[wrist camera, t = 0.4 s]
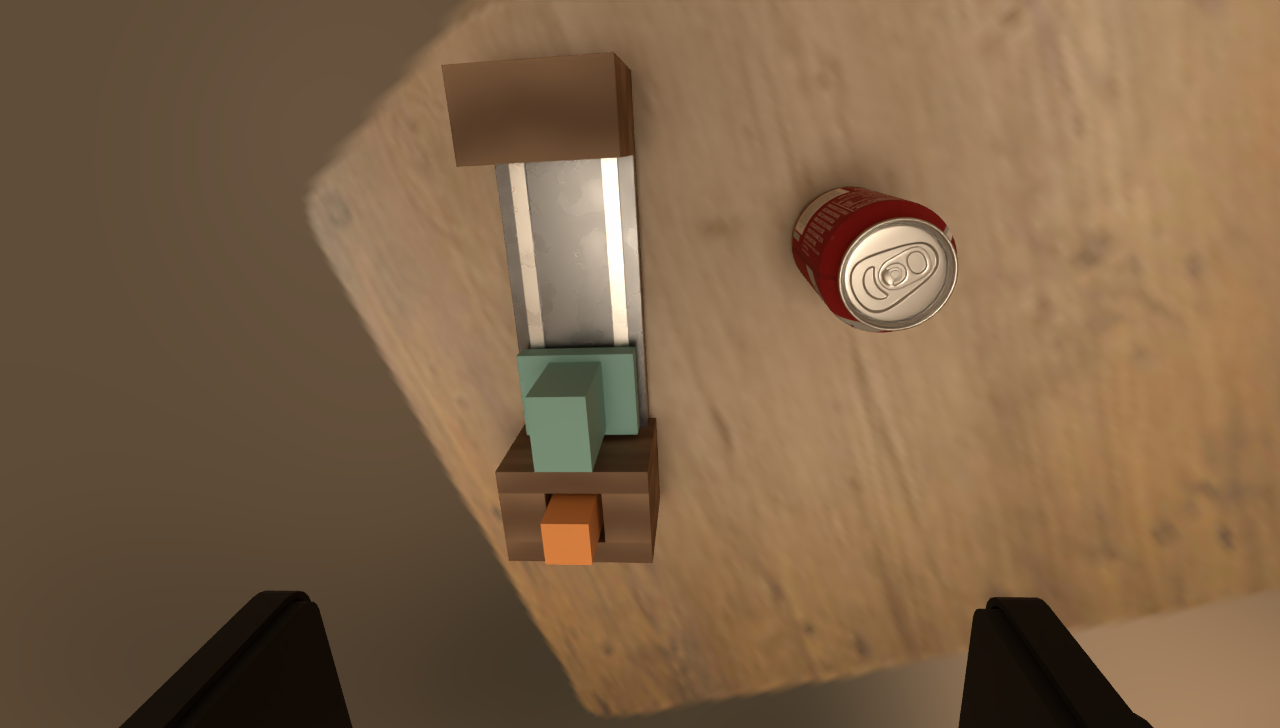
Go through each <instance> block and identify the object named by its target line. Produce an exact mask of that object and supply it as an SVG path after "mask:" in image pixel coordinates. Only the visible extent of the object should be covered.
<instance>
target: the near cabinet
mask: <svg viewBox="0 0 1280 728" xmlns="http://www.w3.org/2000/svg"><path fill="white" fill-rule="evenodd" d="M442 72H443V79H444V85H445V92H446V98H447V105H448V112H449V118H450V125H451V132H452V138H453V145H454V152H455V158H456V165H457V167H459V166H477V165H495V164H513V163H531V162H549V161H567V160H585V159H603V158H620V157H626V156H631V155H633V148H632V130H631V121H632V122H633V103H632V85H631V70H630V69H629V68H628V67H627V66H626V65H625V64H624V63H623V62H622V60H621V59H620V58H619V57H618V56H617V55H616V54H615V53H614V52H610V53H597V54H583V55H570V56H556V57H543V58H529V59H516V60H503V61H489V62H476V63H462V64H449V65H442Z"/></svg>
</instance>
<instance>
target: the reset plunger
mask: <svg viewBox="0 0 1280 728" xmlns="http://www.w3.org/2000/svg"><path fill="white" fill-rule="evenodd" d="M603 521H604V519H603V507H602V496H601V494H553V495H552V497H551V500H550V502H549V504H548V507H547V509H546V512H545V514H544V516H543V519H542V521H541V524H540V525H541V533H542V540H543V548H544V556H545V563H546V564H568V565H592V564H593V560H594V556H595V552H596V548H597V545H598V541H599V537H600V533H601V529H602V525H603Z"/></svg>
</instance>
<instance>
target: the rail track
mask: <svg viewBox="0 0 1280 728" xmlns="http://www.w3.org/2000/svg"><path fill="white" fill-rule="evenodd" d="M631 130H632V148H633V155H631V156H626V157H620V158H603V159H585V160H567V161H549V162H531V163H513V164H495V169H496V177H497V185H498V192H499V200H500V208H501V215H502V223H503V231H504V239H505V246H506V254H507V262H508V269H509V277H510V285H511V292H512V300H513V308H514V316H515V323H516V331H517V339H518V346H519V353H520V352H521V351H522V349H557V348H602V347H635V352H636V369H637V386H638V403H639V419H640V427H648V423H649V402H648V383H647V364H646V346H645V327H644V308H643V290H642V271H641V253H640V234H639V215H638V197H637V178H636V159H635V141H634V122H632V121H631Z"/></svg>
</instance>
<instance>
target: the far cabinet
mask: <svg viewBox="0 0 1280 728" xmlns="http://www.w3.org/2000/svg"><path fill="white" fill-rule="evenodd" d="M495 473H496V480H497V486H498V493H499V499H500V506H501V512H502V518H503V525H504V531H505V538H506V544H507V551H508V557H509V561H545V556H544V548H543V540H542V533H541V525H540V524H541V521H542V519H543V516H544V514H545V512H546V509H547V507H548V504H549V502H550V500H551V497H552V495H553V494H601V496H602V507H603V519H604V521H603V525H602V529H601V533H600V537H599V541H598V545H597V548H596V552H595V556H594V560H593V562H627V563H653V555H654V546H655V537H656V528H657V519H658V510H659V501H660V490H659V470H658V450H657V430H656V418H649V423H648V427H639V432H638V435H604V437H603V440H602V443H601V447H600V450H599V453H598V456H597V459H596V462H595V465H594V468H593V471H592V472H535V471H534V463H533V456H532V448H531V440H530V435H527V432H526V424H525V425H524V427H523V428H522V430H521V431H520V433H519V435H518V436H517V438H516V440H515V441H514V443H513V444H512V446H511V448H510V449H509V451H508V452H507V454H506V456H505V457H504V459H503V461H502V462H501V464H500V465H499V467H498V469H497V470H496V472H495Z"/></svg>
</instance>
